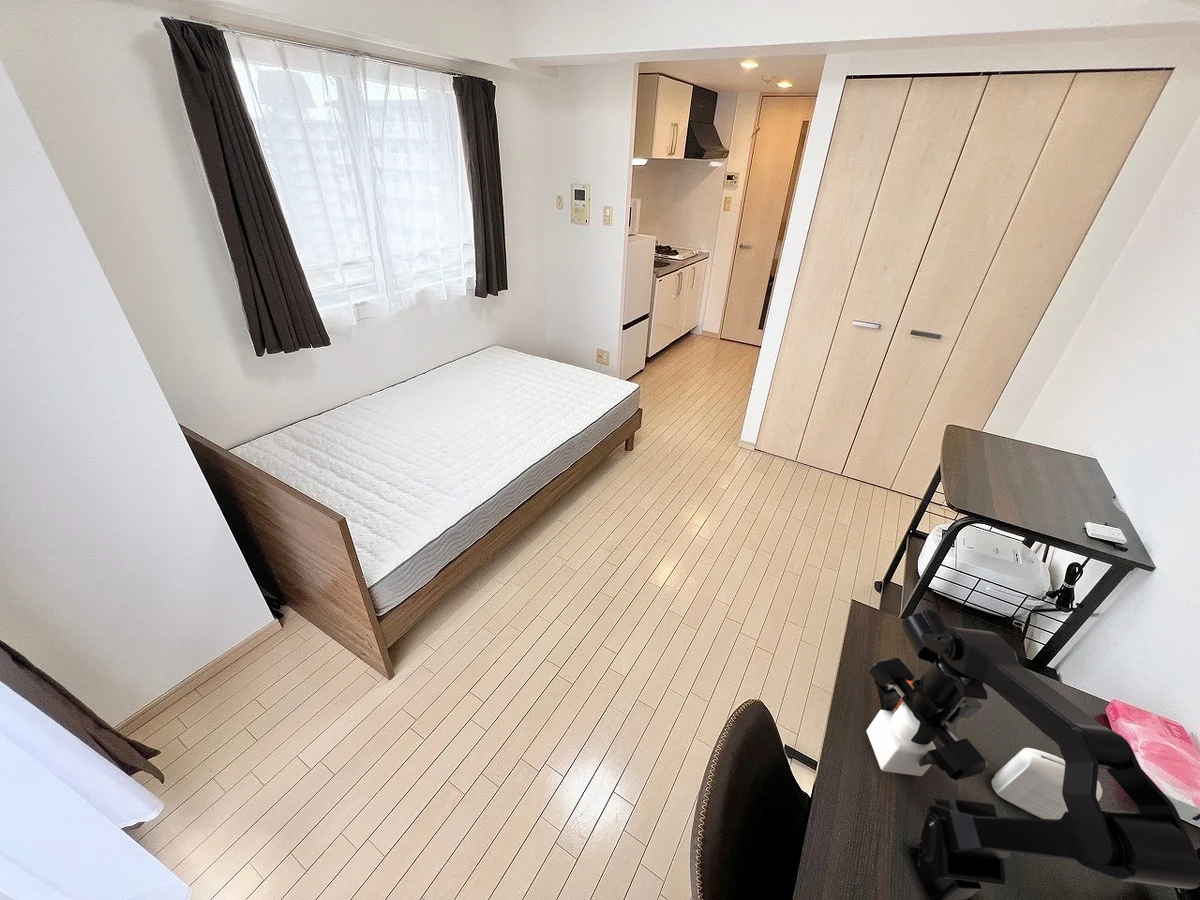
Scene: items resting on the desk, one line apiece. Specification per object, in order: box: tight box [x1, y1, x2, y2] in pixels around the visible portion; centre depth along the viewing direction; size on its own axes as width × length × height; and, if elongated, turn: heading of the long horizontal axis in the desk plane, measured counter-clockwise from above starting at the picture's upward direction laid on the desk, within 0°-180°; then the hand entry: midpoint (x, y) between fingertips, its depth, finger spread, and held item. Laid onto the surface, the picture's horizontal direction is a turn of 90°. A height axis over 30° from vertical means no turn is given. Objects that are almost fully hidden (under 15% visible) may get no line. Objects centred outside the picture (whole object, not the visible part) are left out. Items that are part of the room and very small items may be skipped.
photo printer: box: [991, 747, 1103, 820], centre depth 79 cm, size 10×4×12 cm, turn 60°
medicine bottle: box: [866, 702, 937, 777], centre depth 83 cm, size 7×7×12 cm
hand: (902, 739), depth 84 cm, fingers closed on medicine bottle, 8 cm apart
